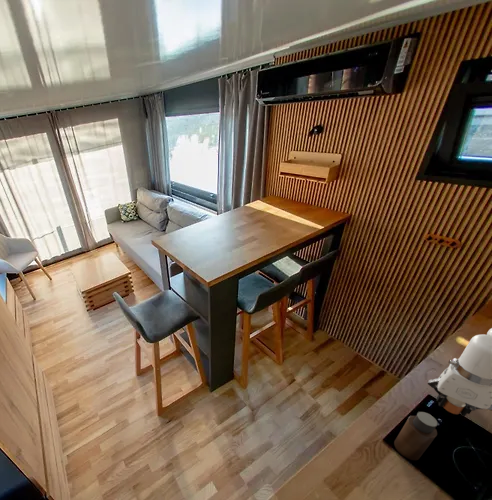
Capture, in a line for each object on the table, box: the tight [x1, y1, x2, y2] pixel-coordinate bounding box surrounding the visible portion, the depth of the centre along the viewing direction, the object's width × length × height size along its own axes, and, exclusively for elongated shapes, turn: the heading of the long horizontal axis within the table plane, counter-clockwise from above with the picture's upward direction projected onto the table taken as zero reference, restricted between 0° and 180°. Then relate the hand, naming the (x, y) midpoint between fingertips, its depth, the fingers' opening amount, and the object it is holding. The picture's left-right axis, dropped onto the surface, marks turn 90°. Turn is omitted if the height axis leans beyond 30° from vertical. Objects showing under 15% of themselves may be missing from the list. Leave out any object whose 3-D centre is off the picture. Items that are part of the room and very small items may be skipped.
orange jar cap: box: [443, 396, 466, 415], centre depth 81 cm, size 4×4×4 cm
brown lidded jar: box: [393, 415, 438, 461], centre depth 79 cm, size 6×6×14 cm
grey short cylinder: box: [413, 411, 438, 434], centre depth 74 cm, size 4×4×4 cm
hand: (451, 407), depth 82 cm, fingers closed on orange jar cap, 4 cm apart
